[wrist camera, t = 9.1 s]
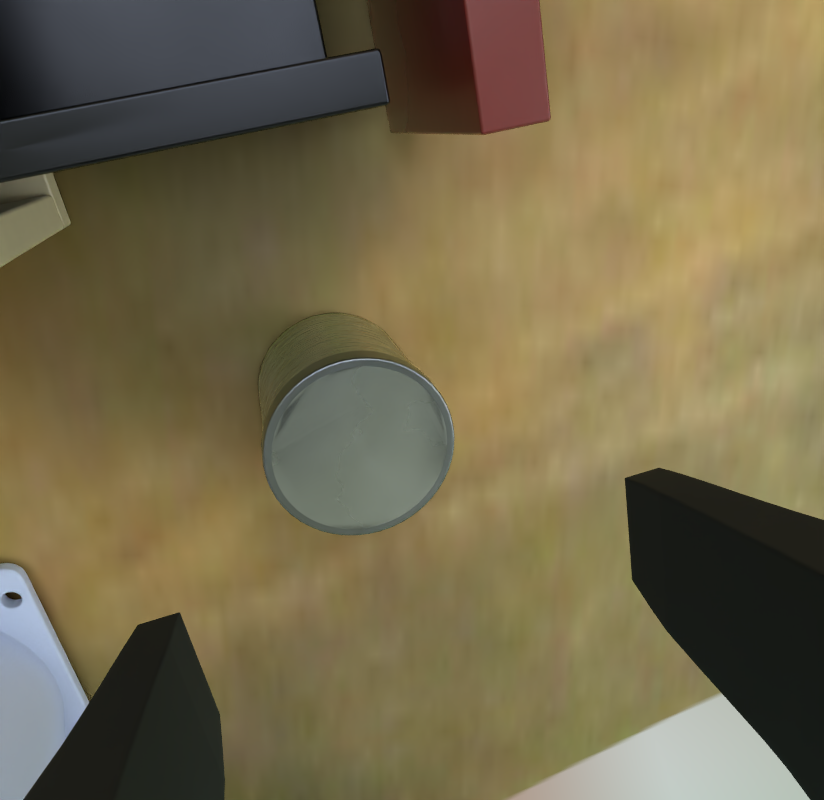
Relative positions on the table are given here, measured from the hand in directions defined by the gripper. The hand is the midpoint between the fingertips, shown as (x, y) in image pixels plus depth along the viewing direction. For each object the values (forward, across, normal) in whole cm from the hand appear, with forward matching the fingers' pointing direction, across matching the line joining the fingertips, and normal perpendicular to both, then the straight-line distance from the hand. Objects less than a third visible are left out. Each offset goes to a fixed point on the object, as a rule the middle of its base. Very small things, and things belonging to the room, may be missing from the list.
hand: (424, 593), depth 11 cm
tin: (+10, 0, 0) cm, 10 cm away
